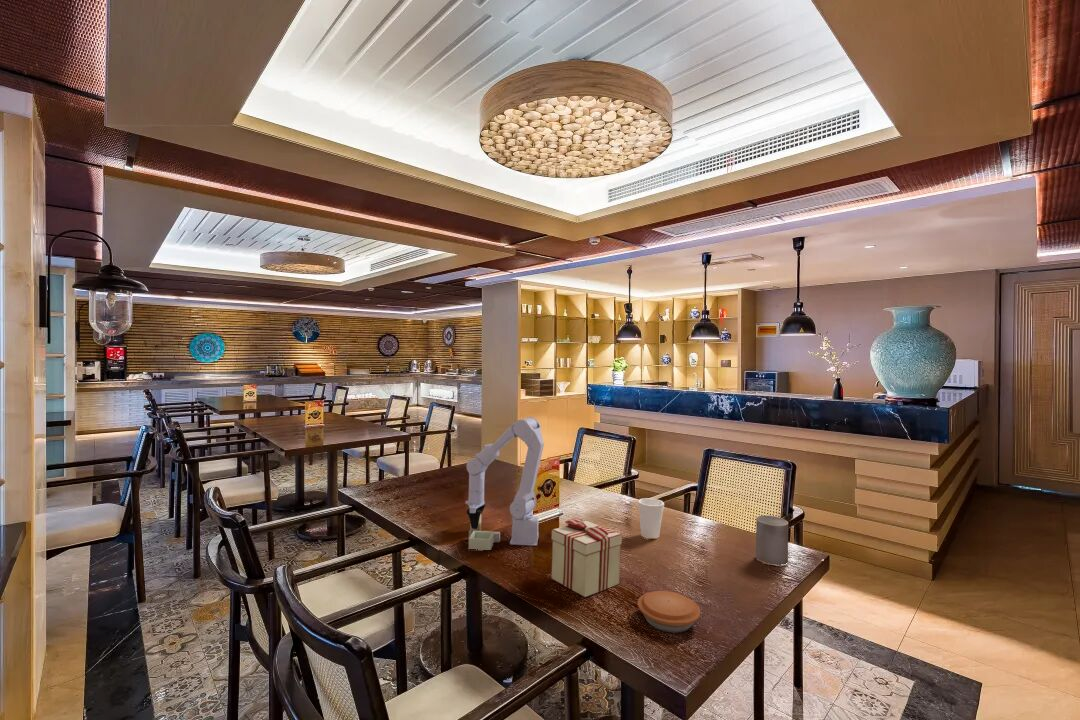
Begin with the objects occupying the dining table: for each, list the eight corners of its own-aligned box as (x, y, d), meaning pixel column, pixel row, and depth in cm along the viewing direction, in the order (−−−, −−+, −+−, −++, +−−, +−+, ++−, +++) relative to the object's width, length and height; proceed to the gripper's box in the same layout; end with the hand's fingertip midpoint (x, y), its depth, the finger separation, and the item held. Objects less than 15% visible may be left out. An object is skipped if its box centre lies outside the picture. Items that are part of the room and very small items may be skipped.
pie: (698, 644, 112) (699, 623, 112) (632, 629, 118) (632, 608, 118) (701, 612, 127) (702, 593, 127) (642, 599, 132) (643, 581, 132)
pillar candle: (770, 553, 166) (771, 510, 166) (794, 564, 157) (795, 519, 157) (748, 557, 162) (749, 513, 162) (772, 569, 153) (773, 522, 153)
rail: (499, 540, 172) (500, 531, 172) (499, 542, 170) (499, 533, 170) (469, 538, 173) (469, 530, 173) (468, 540, 171) (468, 532, 171)
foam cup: (661, 543, 173) (662, 507, 173) (635, 539, 176) (636, 504, 176) (663, 534, 182) (664, 499, 182) (639, 530, 185) (640, 497, 185)
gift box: (628, 580, 144) (629, 522, 144) (588, 601, 131) (590, 538, 131) (584, 561, 156) (586, 508, 156) (544, 579, 143) (546, 521, 143)
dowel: (481, 531, 181) (482, 509, 181) (479, 535, 177) (480, 513, 177) (471, 530, 181) (471, 509, 181) (469, 534, 177) (469, 512, 177)
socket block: (494, 543, 170) (494, 531, 170) (490, 551, 163) (490, 539, 163) (473, 542, 171) (473, 530, 171) (468, 550, 163) (468, 538, 163)
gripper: (469, 484, 186) (469, 519, 186) (461, 495, 172) (460, 532, 172) (487, 485, 186) (487, 520, 186) (481, 495, 171) (480, 533, 171)
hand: (475, 526), depth 179 cm, fingers closed on dowel, 4 cm apart
